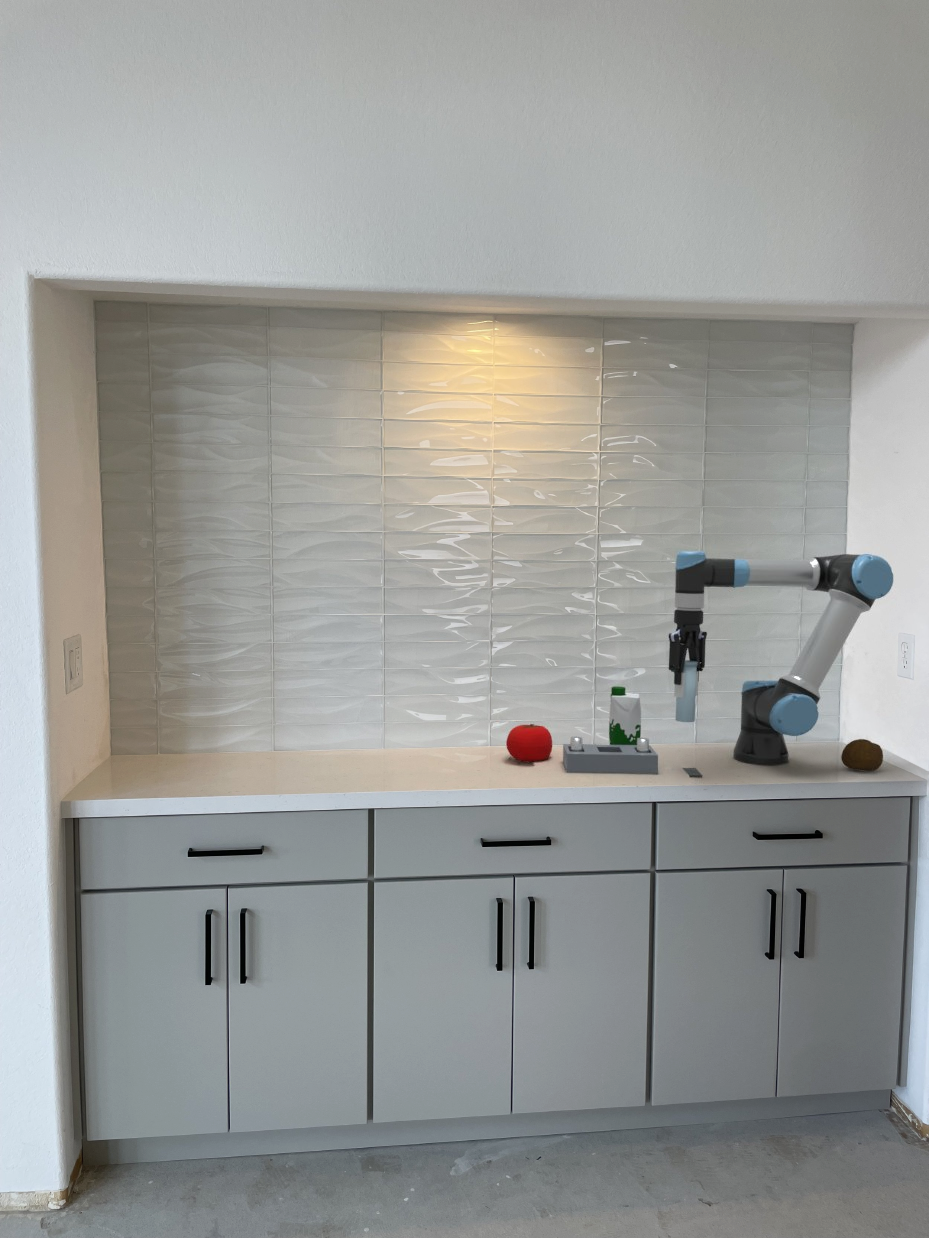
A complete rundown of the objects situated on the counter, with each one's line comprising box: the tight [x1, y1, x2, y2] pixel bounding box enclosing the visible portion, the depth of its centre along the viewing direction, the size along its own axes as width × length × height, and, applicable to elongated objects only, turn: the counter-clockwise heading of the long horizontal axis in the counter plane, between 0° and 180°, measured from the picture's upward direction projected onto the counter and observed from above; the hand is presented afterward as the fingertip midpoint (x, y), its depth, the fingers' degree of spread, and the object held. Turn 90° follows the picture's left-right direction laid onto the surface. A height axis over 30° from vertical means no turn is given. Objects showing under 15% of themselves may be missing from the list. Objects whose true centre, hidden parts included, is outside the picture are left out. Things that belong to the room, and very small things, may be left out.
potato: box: [840, 738, 884, 772], centre depth 248 cm, size 8×12×9 cm
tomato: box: [505, 723, 553, 763], centre depth 255 cm, size 14×13×10 cm
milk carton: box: [608, 686, 642, 745], centre depth 262 cm, size 9×9×20 cm
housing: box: [562, 743, 659, 775], centre depth 244 cm, size 24×12×6 cm, turn 89°
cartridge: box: [675, 659, 698, 723], centre depth 241 cm, size 5×5×16 cm
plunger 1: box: [569, 736, 583, 752], centre depth 244 cm, size 3×3×7 cm
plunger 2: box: [637, 737, 650, 753], centre depth 243 cm, size 3×3×7 cm
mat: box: [682, 767, 703, 779], centre depth 243 cm, size 8×8×1 cm
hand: (685, 695), depth 241 cm, fingers closed on cartridge, 5 cm apart
